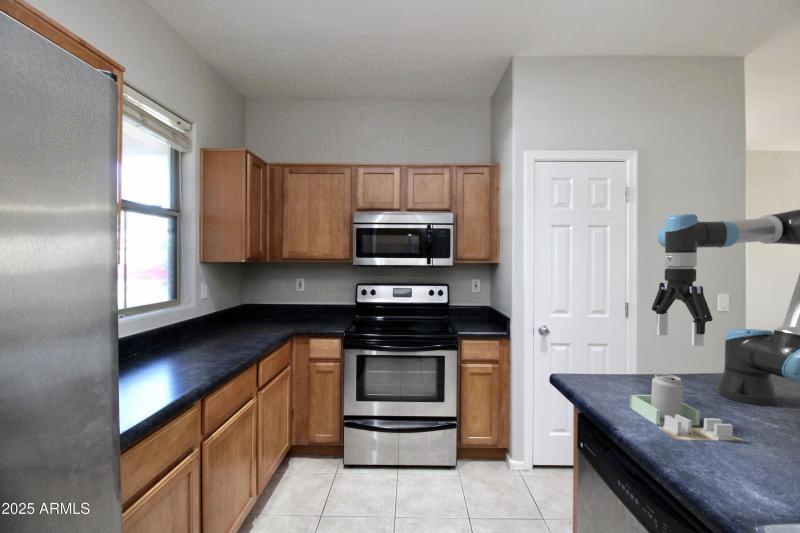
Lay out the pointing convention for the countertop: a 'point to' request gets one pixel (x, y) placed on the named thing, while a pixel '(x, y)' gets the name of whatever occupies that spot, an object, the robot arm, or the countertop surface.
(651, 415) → the green open box
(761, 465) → the countertop surface
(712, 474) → the countertop surface
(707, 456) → the countertop surface
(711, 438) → the board
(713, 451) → the countertop surface
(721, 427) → the clip
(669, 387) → the can
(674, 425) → the clip
